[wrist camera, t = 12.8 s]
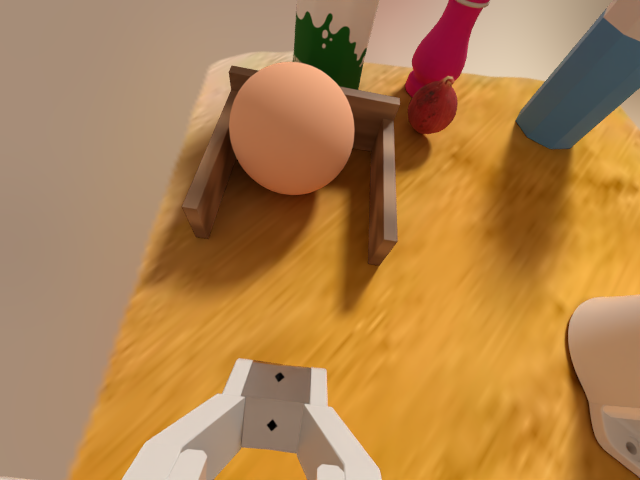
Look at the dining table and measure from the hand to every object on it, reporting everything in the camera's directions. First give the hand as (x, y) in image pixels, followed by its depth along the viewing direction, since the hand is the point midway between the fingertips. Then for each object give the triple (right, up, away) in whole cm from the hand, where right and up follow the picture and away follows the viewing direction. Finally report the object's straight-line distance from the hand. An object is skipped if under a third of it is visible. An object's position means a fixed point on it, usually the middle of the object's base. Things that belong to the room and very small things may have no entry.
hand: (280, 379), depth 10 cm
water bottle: (+36, +22, +36) cm, 55 cm away
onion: (+15, +20, +31) cm, 40 cm away
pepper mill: (+18, +28, +36) cm, 49 cm away
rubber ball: (-1, +15, +19) cm, 24 cm away
